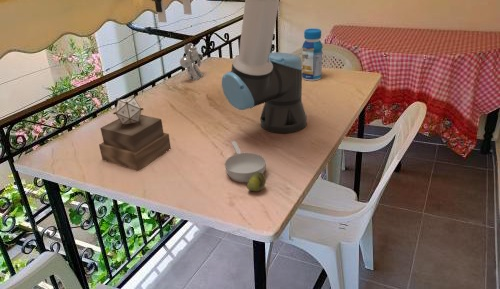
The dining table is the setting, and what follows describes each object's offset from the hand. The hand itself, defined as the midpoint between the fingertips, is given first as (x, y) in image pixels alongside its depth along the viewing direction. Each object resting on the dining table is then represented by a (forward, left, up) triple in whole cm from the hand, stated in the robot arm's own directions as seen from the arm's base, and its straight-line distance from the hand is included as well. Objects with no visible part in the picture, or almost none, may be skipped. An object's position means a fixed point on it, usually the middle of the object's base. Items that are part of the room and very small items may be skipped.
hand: (175, 18), depth 143 cm
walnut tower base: (-10, +37, -32) cm, 50 cm away
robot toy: (+16, -26, -32) cm, 44 cm away
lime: (-51, +38, -32) cm, 71 cm away
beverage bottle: (-31, -46, -32) cm, 64 cm away
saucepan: (-42, +30, -32) cm, 61 cm away
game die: (-10, +37, -22) cm, 44 cm away
